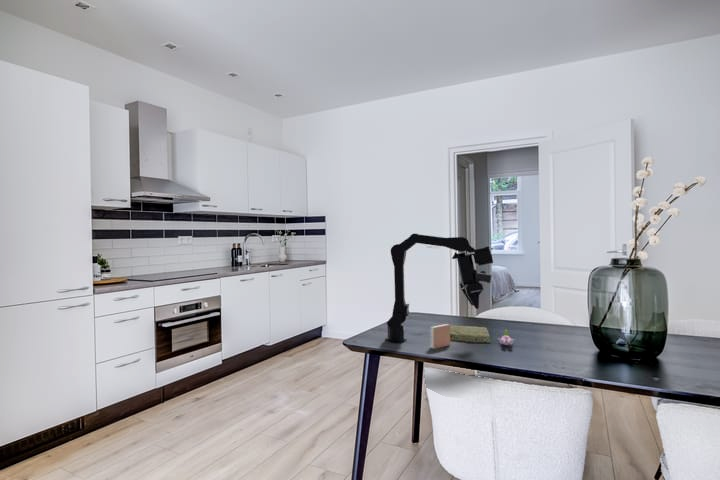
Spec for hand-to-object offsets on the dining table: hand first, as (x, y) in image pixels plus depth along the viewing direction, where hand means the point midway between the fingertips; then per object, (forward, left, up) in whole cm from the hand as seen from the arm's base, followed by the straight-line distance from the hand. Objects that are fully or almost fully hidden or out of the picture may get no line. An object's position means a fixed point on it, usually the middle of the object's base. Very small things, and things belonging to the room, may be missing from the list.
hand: (475, 306), depth 162 cm
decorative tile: (-11, +8, -16) cm, 21 cm away
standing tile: (-7, -12, -15) cm, 21 cm away
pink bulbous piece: (+7, +10, -15) cm, 20 cm away
